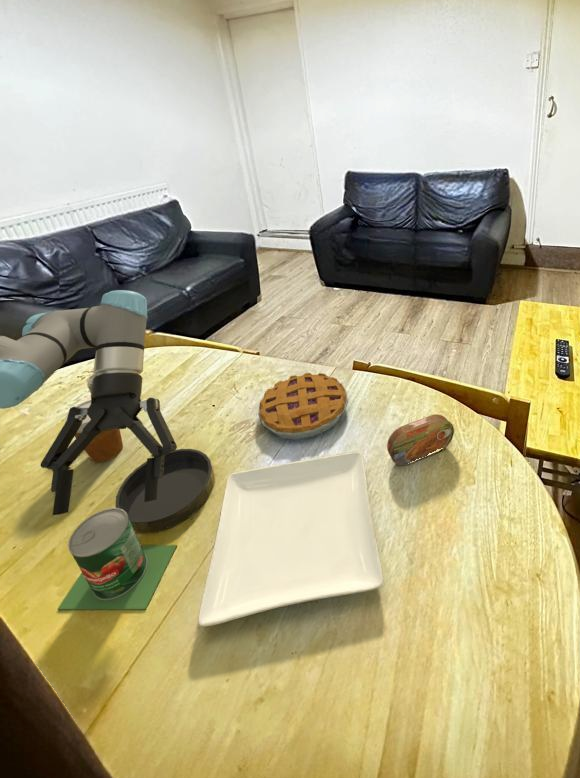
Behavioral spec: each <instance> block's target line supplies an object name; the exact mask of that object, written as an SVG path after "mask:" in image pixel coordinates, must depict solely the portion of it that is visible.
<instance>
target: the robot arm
mask: <svg viewBox="0 0 580 778" xmlns="http://www.w3.org/2000/svg"><path fill="white" fill-rule="evenodd" d="M148 320H149V316H148V300H147V298H146V297H145V296H144V295H143V294H142V293H139V292H136V291H133V290H125V289H116V290H110V291H109V292H106V293H104V294H103V295H102V297H101V301H100V305H96V306H92V307H91V306H90V307H84V308H82V307H81V308H74V309H73V308H72V309H63V310H57V309H56V310H50V311H46V312H42V313H37V314H33V315H32V316H30V317H29V318H28V319H27V320H26V321H25V325H24V326H23V328H22V331H21V333H22V334H21V336H20V337H19V338H18V339H16V340H15V339H12V338H10V337H8V336H5V335H2V334H0V410H1V409H3V410H5V409H10V408H14V407H16V406H19V405H20V404H21V403H23V402H24V401H25V400H27V399H28V398H29V397H30V396H32V395H33V394H35V393H36V392H38V391H39V390H40V388H42V387H43V385H44V384H45V383H46V382H47V381H48V380H49V379H50V378H51V377H52V376H53V375H54V374H55V373H56V371H58V369H60V368H61V367H62V366H63V365H65V364H66V363H67V362H68V361H69V360H70V359H71V358H72V357H73V356H74V355H76V353H77V352H78V351H80V350H84V349H92V348H95V357H94V362H93V363H94V364H93V371H92V372H93V374H95V375H97V376H95V377H94V378H93V381H92V389H91V393H90V400H91V405H90V406H89V408H79V407H76V406H71V407H70V408H69V409H68V412H67V414H68V417H67V421H66V420H65V422H66V423H65V422H64V424H63V426H62V428H61V430H60V431H59V432H58V434H57V435H56V437H55V439H54V440H53V443H52V444H51V446H50V447H49V448H48V451H47V452H46V454H45V455H44V457H43V458H42V461H41V462H40V468H42V469H48V470H51V471H52V478H51V485H50V491H51V493H54V500H53V508H52V516H59V515H63V514H68V513H69V512H70V511H69V510H70V504H71V495H72V488H73V487H72V486H73V481H74V480H73V479H74V472H75V471H74V470H75V469H74V468H71V466H72V464H73V463H74V462H75V461H76V460H77V459H78V457H79V456H80V455H81V454H82V453H83V452H84V451H85V450H84V449H85V448H86V447H87V446H88V445H89V443H90V442H91V441H92V440H93V439H94V438H95V437H96V435H98V434H100V433H101V432H102V431H111V430H114V429H120V430H126V429H129V431H131V433H132V434H133V435H134V436H135V437H136V438H137V439H138V441H139V442H140V443H141V444H142V445H143V446H144V447H145V449H146V450H147V451H148V452H149V453H150V454H151V455H150V456H151V457H148V458H146V461H147V468H146V484H145V499H144V502H148V501H152V500H156V499H157V484H158V477H162V476H163V474H164V458H165V455H166V454H168V453H169V452H171V451H174V450H177V449H178V445H177V443H176V441H175V439H174V437H173V434H172V432H171V429H170V428H169V426H168V424H167V422H166V420H165V418H164V415H163V414H162V411H161V403H160V400H159V399H158V398H154V397H148V398H147V399H146V400H142V399H141V396H142V389H143V376H142V375H141V374H142V373H143V372H144V359H145V344H146V343H145V341H146V330H147V322H148ZM142 409H143V411H144V412H145V413H147V416H148V418H149V420H150V422H151V425H152V426H153V429H154V431H155V434H156V435H157V437H158V439H159V441H158V439H156V438H155V436H153V434H152V433H151V432H150V431H149V429H147V428H146V426H145V425H144V423H143V421H142V420H141V419H140V418H139V417H138V415H139V414H140V412H141V411H142ZM87 415H88V416H89V417H90V419H91V420H90V421H89V422H88V424H87V425H86V426H85V427H84V428H83V431H82V432H81V434H80V435H79V436H78V437H77V438H75V435H76V433H77V431H78V430H79V428H80V426H81V424H82V422H83V420H85V419H86V418H87V417H86V416H87ZM74 438H75V439H74ZM73 439H74V440H73ZM160 443H161V444H160Z"/></svg>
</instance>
